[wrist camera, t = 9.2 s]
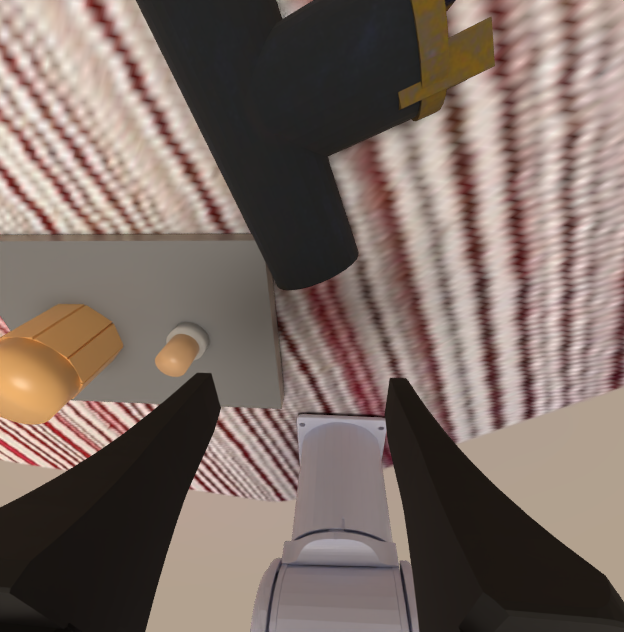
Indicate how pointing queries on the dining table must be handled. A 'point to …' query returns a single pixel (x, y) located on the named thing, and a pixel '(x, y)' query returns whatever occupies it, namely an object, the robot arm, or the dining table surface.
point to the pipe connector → (307, 103)
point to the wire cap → (53, 360)
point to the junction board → (158, 309)
